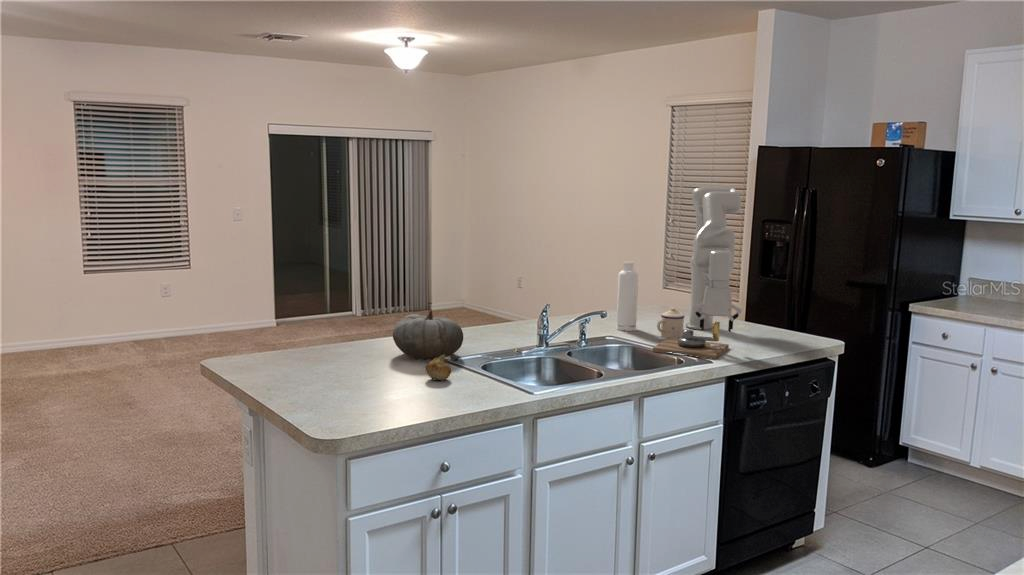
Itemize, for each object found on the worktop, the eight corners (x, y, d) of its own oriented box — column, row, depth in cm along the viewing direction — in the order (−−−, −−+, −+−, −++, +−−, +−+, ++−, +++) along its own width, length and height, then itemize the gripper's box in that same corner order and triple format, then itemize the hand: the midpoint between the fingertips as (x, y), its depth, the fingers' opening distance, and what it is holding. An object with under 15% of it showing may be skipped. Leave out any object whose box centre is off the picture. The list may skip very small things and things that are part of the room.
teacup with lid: (672, 333, 322) (674, 305, 320) (688, 338, 314) (689, 309, 313) (649, 336, 316) (650, 307, 314) (664, 341, 308) (666, 311, 307)
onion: (427, 376, 253) (427, 351, 252) (452, 376, 253) (452, 352, 252) (424, 382, 246) (423, 357, 244) (449, 383, 245) (449, 358, 244)
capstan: (676, 346, 291) (678, 322, 289) (678, 340, 300) (679, 317, 299) (718, 349, 287) (719, 324, 286) (718, 343, 296) (719, 319, 295)
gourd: (406, 361, 261) (408, 308, 261) (379, 357, 282) (380, 308, 283) (474, 360, 273) (475, 310, 274) (443, 357, 295) (444, 310, 296)
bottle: (616, 326, 334) (618, 260, 330) (635, 327, 333) (638, 261, 329) (616, 330, 326) (618, 263, 322) (636, 331, 325) (638, 263, 321)
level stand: (668, 341, 308) (668, 336, 308) (728, 348, 298) (728, 343, 297) (652, 351, 291) (653, 346, 290) (715, 359, 280) (716, 354, 280)
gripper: (694, 284, 287) (691, 331, 290) (743, 287, 283) (740, 334, 286) (694, 281, 294) (691, 327, 297) (742, 284, 291) (739, 329, 293)
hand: (715, 330), depth 291 cm, fingers open, 9 cm apart
